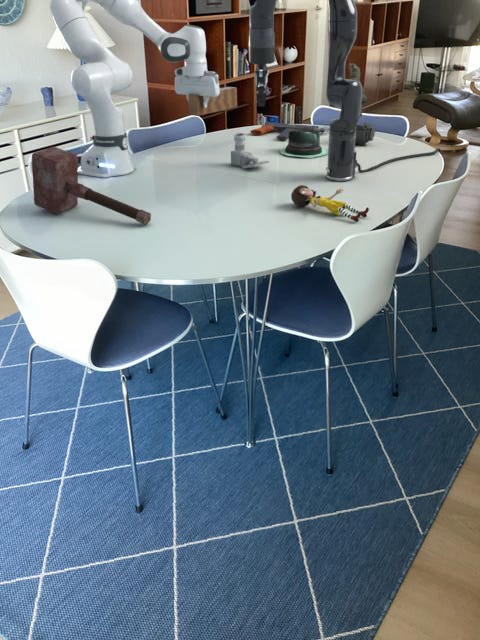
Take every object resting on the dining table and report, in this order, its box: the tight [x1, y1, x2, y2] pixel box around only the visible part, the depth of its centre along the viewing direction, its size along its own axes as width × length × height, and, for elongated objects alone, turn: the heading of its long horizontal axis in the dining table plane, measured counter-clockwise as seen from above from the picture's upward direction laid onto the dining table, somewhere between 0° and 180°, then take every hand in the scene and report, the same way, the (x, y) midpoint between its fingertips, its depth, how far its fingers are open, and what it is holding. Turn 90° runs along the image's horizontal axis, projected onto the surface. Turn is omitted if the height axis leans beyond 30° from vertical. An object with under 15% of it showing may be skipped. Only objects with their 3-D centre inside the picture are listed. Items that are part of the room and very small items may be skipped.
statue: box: [348, 62, 368, 125], centre depth 262 cm, size 11×9×30 cm
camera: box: [230, 132, 270, 169], centre depth 214 cm, size 9×12×15 cm
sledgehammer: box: [31, 146, 152, 226], centre depth 169 cm, size 17×10×40 cm
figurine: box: [290, 184, 370, 223], centre depth 170 cm, size 13×8×25 cm
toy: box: [355, 122, 376, 146], centre depth 244 cm, size 9×9×15 cm
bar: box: [188, 86, 238, 117], centre depth 235 cm, size 26×5×8 cm, turn 141°
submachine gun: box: [250, 121, 326, 141], centre depth 264 cm, size 32×3×25 cm
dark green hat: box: [279, 128, 328, 159], centre depth 234 cm, size 15×19×20 cm
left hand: (198, 106), depth 229 cm, fingers closed on bar, 5 cm apart
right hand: (261, 103), depth 171 cm, fingers open, 8 cm apart
